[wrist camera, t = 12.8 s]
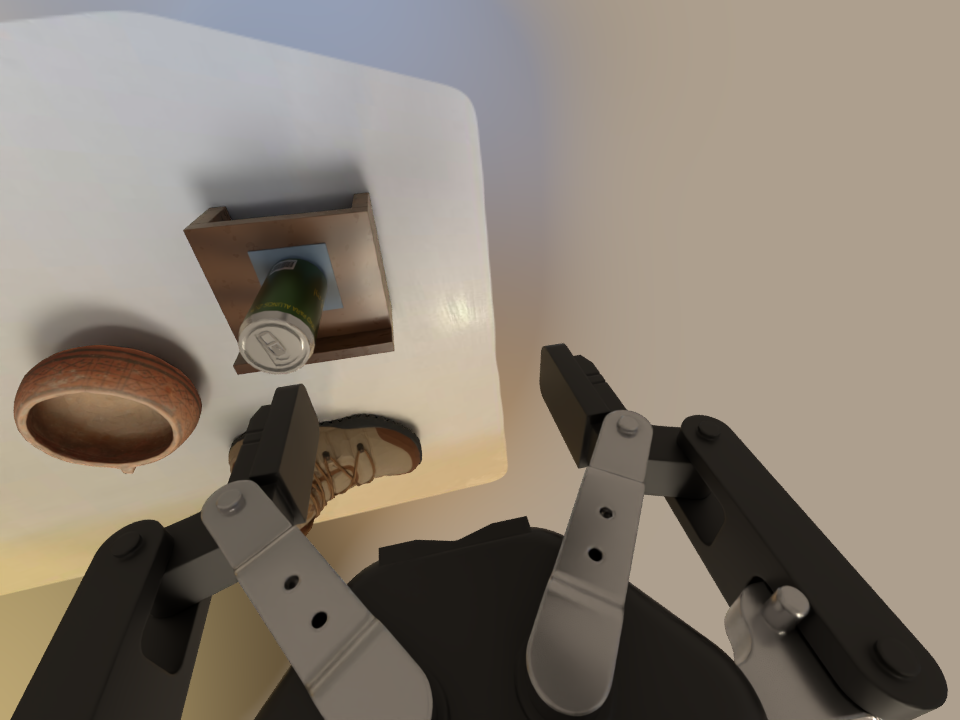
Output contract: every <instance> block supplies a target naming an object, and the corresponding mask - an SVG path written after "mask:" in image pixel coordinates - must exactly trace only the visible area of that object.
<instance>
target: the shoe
mask: <svg viewBox="0 0 960 720" xmlns="http://www.w3.org/2000/svg"><path fill="white" fill-rule="evenodd" d="M319 430H320V435H319V442H318V449H317V455H316V462H315V468H314V475H313V481H312V487H311V494H310V500H309V507H308V513H307V520H306V523H303V524H298V525H296V526H297V527H298V528H299V530H300V531H301V532H302V533H303V534H304V535H305V536H306V535H307V534H308V532H309V531H310V529H311V528H312V525H313V522H314V519H315V518H317V517H318V516H319V515H320V512H321V511H322V510H323V508H324V506H326V505H327V502H328V501H329V500H332V499H333V498H335V495H338V494H343V493H345V492H346V491H347V490H348V489H350V488H352V487H354V486H356V485H357V486H360V485H362V484H365V483H370V482H371V481H373V479H374V478H377V477H382V476H392V475H401V474H406V473H410V472H412V471H413V470H414V469H416V467H417V466H418V465H419V464H420V463H421V461H422V450H421V444H420V440H419V438H418V437H417V436H416V435H415V433H412V431H411V430H410V429H408V428H403V425H401V424H398V423H397V424H394V421H391V420H388V421H385V418H383V417H378V418H375V415H369V417H366V415H360V417H357V415H354V416H352V417H351V418H350V419H348V417H346V418H342V421H340V422H339V421H338V420H334V421H333V423H329V422H323V425H320V423H319ZM245 434H247V433H245ZM245 434H243V435H242V437H241V438H239V439H236V440H235V441H234V442H233V443H232V446H231V448H230V451H229V464H230V472H231V473H232V470H233V467H234V464H235V462H236V459H237V456H238V453H239V450H240V448H241V445H243V443H242V442H243V439H244V436H245Z"/></svg>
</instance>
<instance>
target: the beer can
mask: <svg viewBox="0 0 960 720" xmlns="http://www.w3.org/2000/svg"><path fill="white" fill-rule="evenodd" d="M327 289H328V288H327V281H326V279H325V277H324V275H323V273H322V272H321V271H320V270H319V269H318V268H317V266H315V265H314V264H312V263H310V262H309V261H306V260H302V259H297V258H288V259H285V260H281V261H279V262H278V263H276V264H275V265H274V266H273V267H272V268H271V270H270V272H269V273H268V275H267V277H266V279H265V281H264V283H263V285H262V287H261V288H260V290H259V292H258V294H257V296H256V298H255V300H254V302H253V304H252V306H251V307H250V309H249V311H248V313H247V315H246V317H245V319H244V321H243V323H242V325H241V326H240V329H239V336H238V338H239V342H238V346H239V350H240V353H241V355H242V356H243V358H244V359H245V360H246V362H248V363H249V364H250V365H251V366H253V367H254V368H256V369H258V370H261V371H263V372H266V373H271V374H288V373H291V372H294V371H297V370H298V369H300V368H301V367H303V366H304V364H305V363H306V362H307V361H308V359H309V358H310V356H311V355H312V354H313V351H314V347H315V343H316V338H317V334H318V329H319V325H320V320H321V316H322V311H323V307H324V302H325V298H326V293H327Z"/></svg>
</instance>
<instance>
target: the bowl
mask: <svg viewBox="0 0 960 720" xmlns="http://www.w3.org/2000/svg"><path fill="white" fill-rule="evenodd" d="M201 409H202V403H201V399H200V396H199V394H198V392H197V390H196V388H195V387H194V385H193V383H192V382H191V380H190V379H189V378H188V377H187V376H185V375H184V374H183V373H182V371H181V370H179V369H177V368H175V367H173V366H171V365H170V364H168V363H167V362H165V361H164V360H162V359H160V358H158V357H156V356H154V355H151V354H149V353H146V352H143V351H140V350H136V349H130V348H123V347H116V346H108V345H91V346H84V347H77V348H72V349H68V350H64V351H61V352H58V353H56V354H54V355H52V356H50V357H48V358H46V359H44V360H42V361H41V362H39V363H38V364H37V365H36V366H34V367H33V368H32V369H31V370H30V371H29V372H28V373H27V374H26V375H25V376H24V378H23V380H22V382H21V384H20V386H19V388H18V390H17V393H16V397H15V401H14V419H15V423H16V426H17V428H18V431H19V432H20V433H21V434H22V436H23V437H24V438H25V440H26V441H28V442H29V443H31V444H32V445H33V446H34V447H36V448H38V449H40V450H41V451H43V452H45V453H46V454H48V455H50V456H52V457H55V458H58V459H60V460H63V461H66V462H70V463H75V464H81V465H88V466H96V467H110V468H117V469H121V470H122V472H123V473H125V474H129V473H133V472H134V470H135V468H136V466H141V465H145V464H149V463H153V462H155V461H158V460H160V459H163V458H164V457H166V456H168V455H169V454H171V453H172V452H173V451H175V450H176V449H177V448H178V447H179V446H180V445H182V444H183V443H184V441H185V440H186V439H187V438H188V437H189V436H190V435H191V433H192V432H193V430H194V429H195V427H196V426H197V423H198V421H199V418H200V415H201Z"/></svg>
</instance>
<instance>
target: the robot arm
mask: <svg viewBox="0 0 960 720" xmlns="http://www.w3.org/2000/svg"><path fill="white" fill-rule="evenodd" d="M540 389H541V394H542V397H543V399H544V401H545V403H546V405H547V407H548V409H549V411H550V413H551V414H552V417H553V419H554V421H555V423H556V425H557V427H558V429H559V431H560V433H561V435H562V437H563V439H564V441H565V443H566V445H567V447H568V449H569V451H570V453H571V455H572V457H573V459H574V461H575V463H576V465H577V467H578V468H584V467H587V468H586V470H585V473H584V477H583V479H582V483H581V486H580V489H579V492H578V495H577V498H576V501H575V504H574V507H573V510H572V513H571V516H570V519H569V523H568V526H567V529H566V532H565V535H564V536H563V535H561V534H559V533H556V532H554V531H550V530H547V529H543V528H537V527H530V525H529V522H528V519H527V516H524V517H520V518H515V519H511V520H506V521H501V522H497V523H492V524H490V525H488V526H486V527H484V528H482V529H480V530H478V531H476V532H474V533H472V534H470V535H468V536H466V537H464V538H462V539H459V540H456V541H436V540H414V541H409V542H404V543H400V544H395V545H391V546H386V547H382V548H379V561H377V562H375V563H373V564H372V565H370V566H368V567H367V568H365V569H364V570H362V571H361V572H360V573H359V574H357V575H356V576H355V577H354V578H353V579H352V580H351V581H350V582H349V583H348V584H347V585H346V583H345V582H344V581H343V580H342V579H341V577H340V576H339V575H338V574H337V573H336V572H335V570H334V569H333V568H332V567H331V566H330V565H329V564H328V562H327V561H326V560H325V559H324V558H323V556H322V555H321V554H320V553H319V552H318V551H317V549H316V548H315V547H314V546H313V545H312V544H311V542H310V541H309V540H308V539H307V538H306V536H305V535H304V534H303V533H302V532H301V531H300V530H299V528H298V527H297V526H296V525H298V524H303V523H306V520H307V513H308V507H309V500H310V494H311V487H312V481H313V475H314V468H315V462H316V455H317V449H318V442H319V435H320V430H319V422H318V418H317V416H316V413H315V411H314V408H313V406H312V403H311V401H310V398H309V396H308V393H307V391H306V388H305V386H304V385H303V384H297V385H291V386H284V387H278V388H277V389H276V391H275V394H274V397H273V400H272V403H271V405H265V406H261V408H260V409H259V410H258V411H257V412H256V413H255V414H254V416H253V417H252V418H251V420H250V422H249V425H248V428H247V431H246V433H247V434H245V436H244V439H243V442H242V443H243V445H241V448H240V450H239V453H238V456H237V459H236V462H235V464H234V467H233V470H232V473H231V476H230V478H229V481H228V484H227V485H225V486H223V487H221V488H219V489H218V490H217V491H215V492H214V493H213V494H212V495H211V496H210V497H209V498H208V499H207V501H206V502H205V504H204V505H203V507H202V510H201V512H199V513H197V514H195V515H193V516H190V517H188V518H186V519H183V520H181V521H179V522H177V523H174V524H172V525H170V526H167V527H165V528H164V527H163V526H162V525H161V524H160V523H159V522H158V521H155V520H141V521H138V522H134V523H132V524H129V525H127V526H125V527H123V528H122V529H120V530H119V531H117V532H116V533H114V534H113V535H112V536H110V537H109V538H108V539H107V540H106V541H105V542H104V543H103V544H102V545H101V547H100V548H99V549H98V551H97V552H96V554H95V556H94V558H93V560H92V562H91V564H90V566H89V567H88V569H87V571H86V573H85V575H84V577H83V579H82V581H81V583H80V585H79V587H78V589H77V591H76V593H75V595H74V597H73V599H72V601H71V603H70V604H69V607H68V608H67V610H66V612H65V614H64V616H63V618H62V620H61V622H60V624H59V626H58V628H57V630H56V632H55V634H54V636H53V638H52V640H51V642H50V644H49V645H48V647H47V649H46V651H45V653H44V655H43V657H42V659H41V661H40V663H39V665H38V667H37V669H36V671H35V673H34V675H33V677H32V679H31V680H30V683H29V684H28V686H27V688H26V690H25V692H24V694H23V696H22V698H21V700H20V702H19V704H18V706H17V708H16V710H15V712H14V714H13V716H12V718H11V720H181V716H182V712H183V708H184V704H185V700H186V696H187V692H188V688H189V684H190V680H191V676H192V672H193V668H194V664H195V660H196V656H197V652H198V648H199V644H200V641H201V636H202V633H203V629H204V624H205V621H206V617H207V613H208V609H209V605H210V601H211V597H212V595H214V594H216V593H217V592H219V591H221V590H223V589H225V588H227V587H229V586H231V585H233V584H235V583H237V582H239V583H240V585H241V586H242V588H243V590H244V591H245V593H246V594H247V596H248V597H249V599H250V601H251V602H252V604H253V605H254V607H255V608H256V610H257V611H258V613H259V615H260V616H261V618H262V619H263V621H264V622H265V624H266V626H267V627H268V628H269V630H270V632H271V633H272V635H273V636H274V638H275V640H276V641H277V643H278V644H279V646H280V648H281V649H282V651H283V652H284V654H285V655H286V657H287V659H288V660H289V662H290V663H291V666H290V667H289V669H288V670H287V672H286V673H285V675H284V676H283V678H282V679H281V681H280V682H279V683H278V685H277V686H276V688H275V689H274V691H273V692H272V694H271V695H270V697H269V698H268V700H267V701H266V703H265V704H264V705H263V707H262V708H261V710H260V711H259V713H258V714H257V716H256V717H255V719H254V720H912V719H914V718H917V717H919V716H921V715H923V714H925V713H928V712H930V711H932V710H934V709H937V708H938V707H940V706H942V705H943V704H944V702H945V701H946V698H947V691H948V689H947V684H946V680H945V678H944V675H943V673H942V671H941V669H940V667H939V666H938V664H937V663H936V661H935V660H934V658H933V657H932V656H931V655H930V653H929V652H928V651H927V650H926V649H925V648H924V647H923V645H922V644H921V643H920V642H919V641H918V640H917V639H916V638H915V636H914V635H913V634H912V633H911V632H910V631H909V630H908V628H907V627H906V626H905V625H904V624H903V623H902V622H901V621H900V619H899V618H898V617H897V616H896V615H895V614H894V613H893V612H892V611H891V609H890V608H889V607H888V606H887V605H886V604H885V603H884V601H883V600H882V599H881V598H880V597H879V596H878V595H877V594H876V592H875V591H874V590H873V589H872V588H871V587H870V586H869V584H868V583H867V582H866V581H865V580H864V579H863V578H862V577H861V576H860V574H859V573H858V572H857V571H856V570H855V569H854V567H853V566H852V565H851V564H850V563H849V562H848V561H847V560H846V558H845V557H844V556H843V555H842V554H841V553H840V552H839V551H838V550H837V548H836V547H835V546H834V545H833V544H832V543H831V542H830V540H829V539H828V538H827V537H826V536H825V535H824V534H823V533H822V531H821V530H820V529H819V528H818V527H817V526H816V525H815V524H814V522H813V521H812V520H811V519H810V518H809V517H808V516H807V515H806V513H805V512H804V511H803V510H802V509H801V508H800V507H799V505H798V504H797V503H796V502H795V501H794V500H793V499H792V498H791V496H790V495H789V494H788V493H787V492H786V491H785V490H784V488H783V487H782V486H781V485H780V484H779V483H778V482H777V481H776V479H775V478H774V477H773V476H772V475H771V474H770V473H769V472H768V470H766V468H765V467H764V466H763V465H762V464H761V462H760V461H759V460H758V459H757V458H756V457H755V456H754V455H753V454H752V452H751V451H750V450H749V449H748V448H747V447H746V446H745V445H744V443H743V442H742V441H741V440H740V439H739V438H738V437H737V436H736V434H735V433H734V432H733V431H732V430H731V429H730V428H729V427H728V426H727V425H726V424H725V423H723V422H721V421H720V420H718V419H715V418H712V417H709V416H704V415H694V416H690V417H687V418H686V419H685V420H684V421H683V422H682V425H681V428H680V427H665V426H655V425H651V424H650V422H649V421H648V420H647V419H646V418H645V417H643V416H642V415H640V414H638V413H636V412H633V411H628V410H627V409H626V408H625V407H624V405H623V404H622V403H621V401H620V400H619V398H618V397H617V396H616V394H615V393H614V392H613V390H612V389H611V388H610V386H609V385H608V383H606V382H605V379H604V378H603V376H602V375H601V374H600V373H599V371H598V370H597V368H596V367H595V365H594V364H593V363H592V362H591V361H589V360H588V359H586V358H585V357H583V356H581V355H577V356H573V355H572V353H571V352H570V350H569V349H568V348H567V346H566V345H565V344H563V343H562V344H555V345H549V346H544V347H542V350H541V364H540ZM644 494H645V495H655V496H664V497H665V499H666V500H667V502H668V504H669V505H670V507H671V509H672V511H673V512H674V514H675V516H676V517H677V519H678V521H679V522H680V524H681V526H682V527H683V529H684V531H685V532H686V534H687V536H688V538H689V539H690V541H691V543H692V544H693V546H694V548H695V549H696V551H697V553H698V554H699V556H700V558H701V559H702V561H703V563H704V564H705V566H706V568H707V570H708V571H709V573H710V575H711V576H712V578H713V580H714V581H715V583H716V585H717V586H718V588H719V590H720V591H721V593H722V595H723V597H724V598H725V600H726V602H727V603H728V605H729V607H730V608H729V610H728V611H727V613H726V616H725V629H726V633H727V636H728V638H729V641H730V643H731V645H732V649H733V652H734V661H733V660H732V659H731V658H730V657H729V656H728V655H727V654H726V653H725V652H724V651H723V650H722V649H720V648H719V647H718V646H717V645H716V644H714V643H713V642H711V641H710V640H709V639H707V638H706V637H705V636H703V635H702V634H700V633H699V632H698V631H696V630H695V629H693V628H692V627H691V626H689V625H688V624H686V623H685V622H684V621H682V620H681V619H680V618H678V617H677V616H675V615H674V614H673V613H671V612H670V611H669V610H667V609H666V608H665V607H663V606H662V605H660V604H659V603H658V602H656V601H655V600H653V599H652V598H651V597H649V596H648V595H646V594H645V593H644V592H642V591H641V590H640V589H638V588H637V587H636V586H634V585H633V584H631V583H630V582H629V575H630V570H631V564H632V559H633V552H634V547H635V542H636V536H637V531H638V525H639V519H640V514H641V508H642V502H643V497H644Z"/></svg>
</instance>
